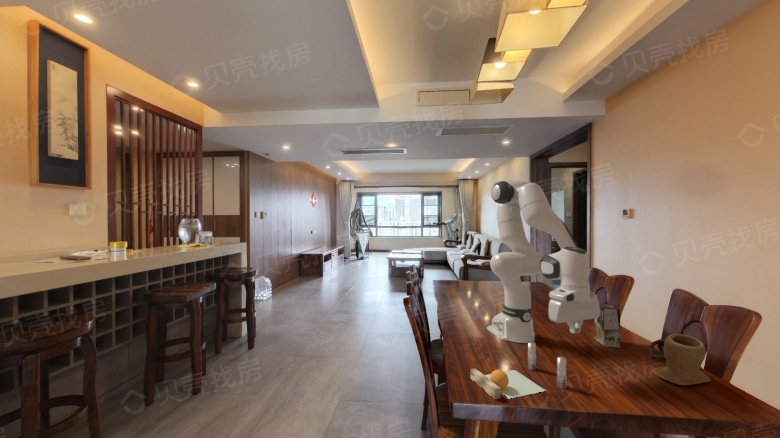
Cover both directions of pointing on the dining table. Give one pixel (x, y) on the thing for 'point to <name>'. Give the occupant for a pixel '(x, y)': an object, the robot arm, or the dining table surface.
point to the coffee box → (608, 326)
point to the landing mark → (519, 385)
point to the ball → (499, 379)
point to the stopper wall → (485, 383)
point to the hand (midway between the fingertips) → (575, 332)
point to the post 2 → (561, 372)
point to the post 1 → (531, 355)
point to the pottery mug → (655, 352)
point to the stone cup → (683, 360)
